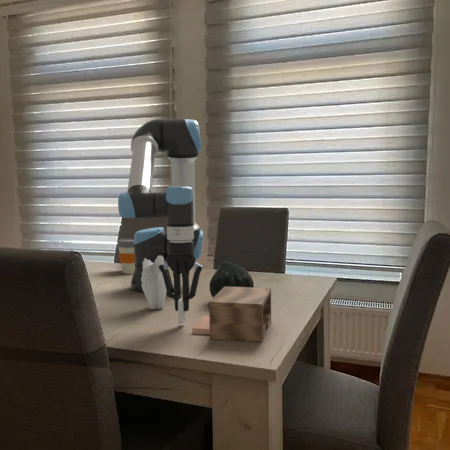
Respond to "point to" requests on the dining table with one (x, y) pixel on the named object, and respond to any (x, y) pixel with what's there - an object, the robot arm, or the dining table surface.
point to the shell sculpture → (153, 283)
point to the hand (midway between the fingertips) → (182, 321)
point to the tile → (202, 326)
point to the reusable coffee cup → (127, 255)
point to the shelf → (240, 313)
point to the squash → (229, 277)
